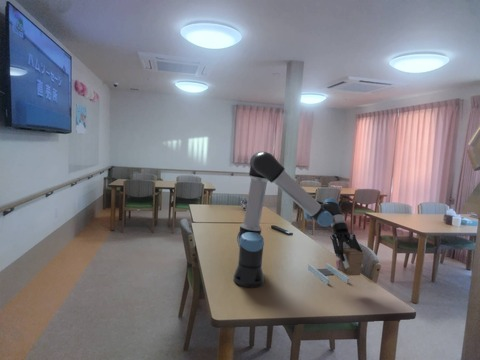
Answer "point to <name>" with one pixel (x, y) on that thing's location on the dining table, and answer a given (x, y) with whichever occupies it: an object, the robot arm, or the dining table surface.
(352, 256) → the walnut block
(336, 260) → the video game controller
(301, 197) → the robot arm
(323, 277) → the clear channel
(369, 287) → the dining table surface
